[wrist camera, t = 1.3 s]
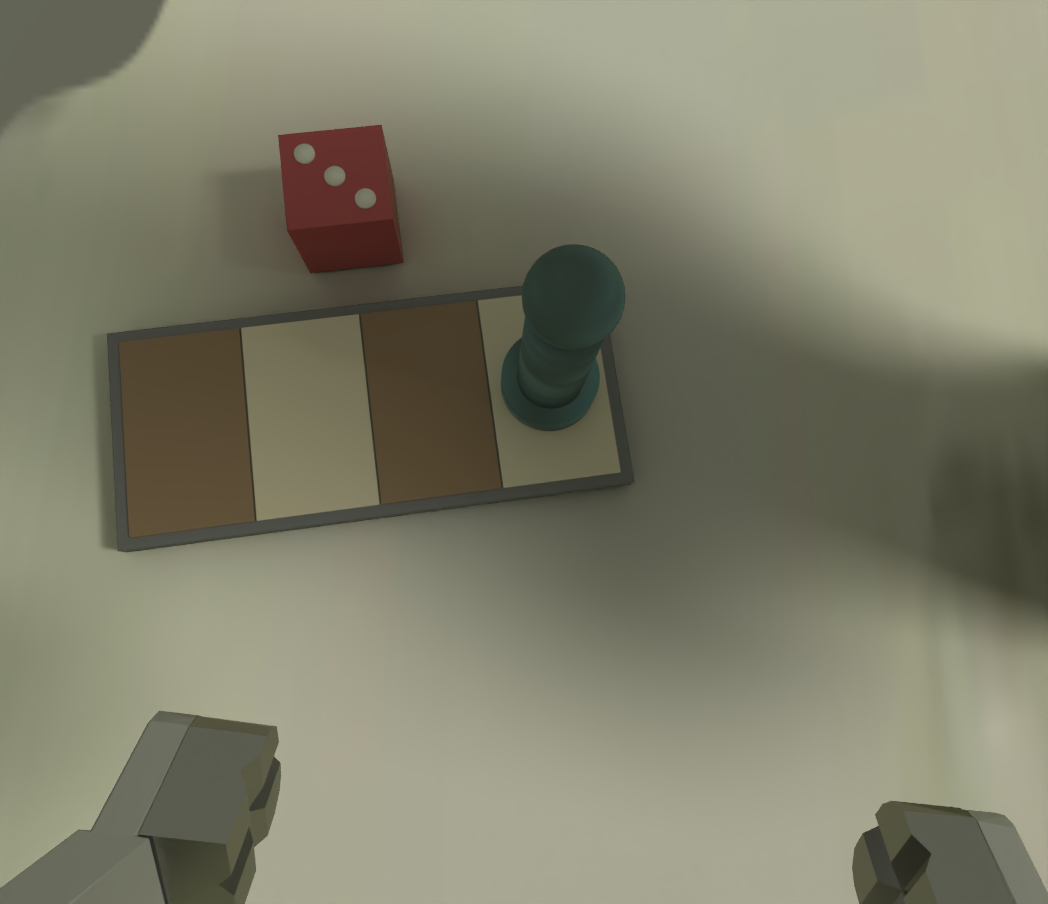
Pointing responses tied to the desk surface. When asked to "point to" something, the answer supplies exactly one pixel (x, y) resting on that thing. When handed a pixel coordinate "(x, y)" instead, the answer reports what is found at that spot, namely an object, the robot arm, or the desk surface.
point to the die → (340, 198)
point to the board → (338, 420)
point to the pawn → (561, 337)
